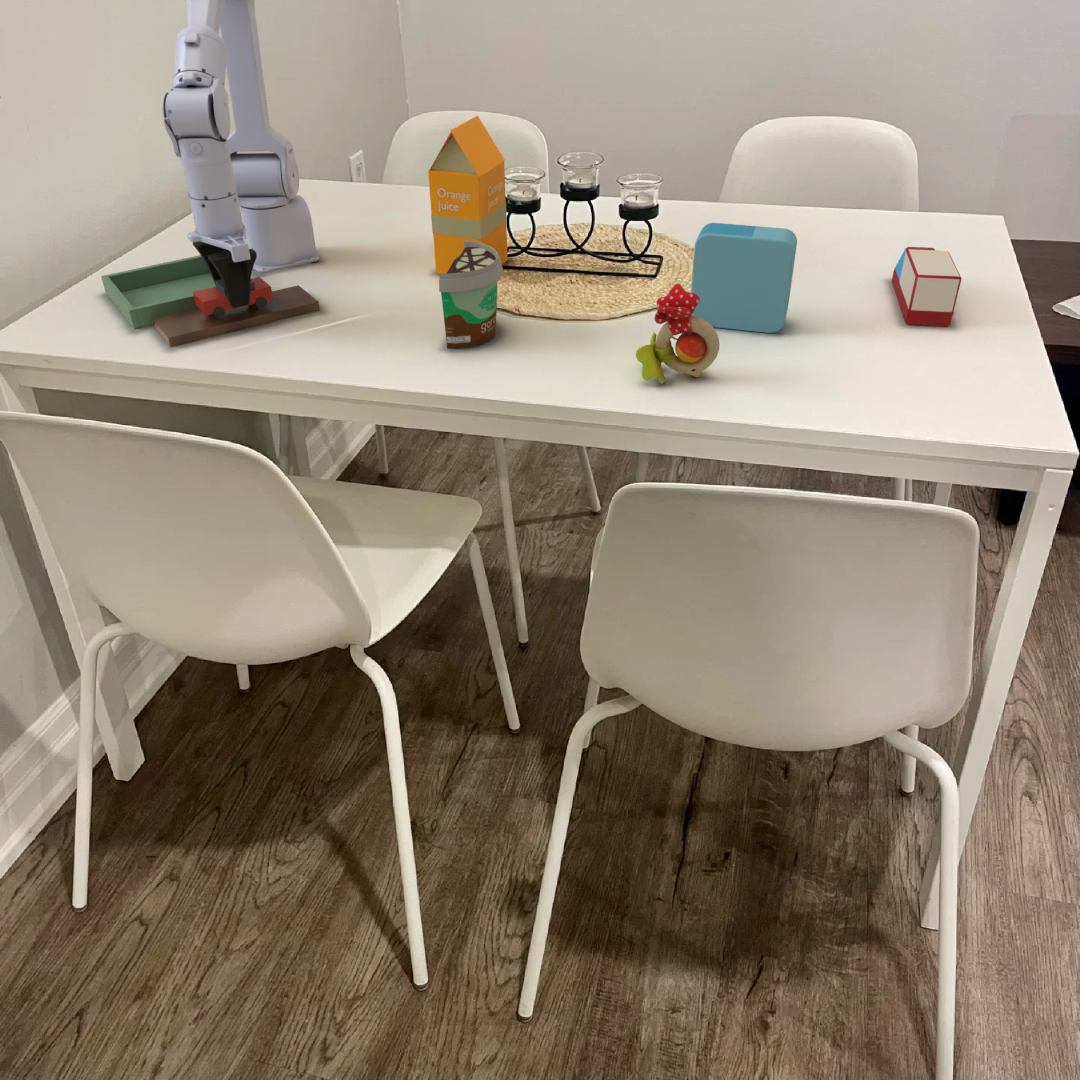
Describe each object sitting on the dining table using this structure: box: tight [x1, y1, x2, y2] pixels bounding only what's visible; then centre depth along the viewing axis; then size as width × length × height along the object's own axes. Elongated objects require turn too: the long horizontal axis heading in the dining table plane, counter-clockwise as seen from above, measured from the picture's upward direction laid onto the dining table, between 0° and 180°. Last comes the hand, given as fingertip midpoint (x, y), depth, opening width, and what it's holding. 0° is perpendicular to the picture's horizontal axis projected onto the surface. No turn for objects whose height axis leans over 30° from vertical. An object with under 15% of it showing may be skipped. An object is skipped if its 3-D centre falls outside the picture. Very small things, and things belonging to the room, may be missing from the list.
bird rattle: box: [635, 283, 721, 385], centre depth 114 cm, size 6×11×9 cm
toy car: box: [193, 276, 273, 318], centre depth 129 cm, size 9×4×3 cm, turn 123°
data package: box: [690, 222, 798, 334], centre depth 125 cm, size 12×4×12 cm, turn 73°
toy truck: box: [891, 246, 962, 328], centre depth 131 cm, size 6×15×7 cm, turn 171°
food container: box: [438, 241, 504, 350], centre depth 124 cm, size 12×6×10 cm, turn 168°
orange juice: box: [427, 115, 509, 275], centre depth 140 cm, size 8×9×20 cm
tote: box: [100, 254, 216, 330], centre depth 137 cm, size 17×15×3 cm
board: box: [153, 284, 321, 348], centre depth 131 cm, size 20×7×2 cm, turn 123°
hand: (234, 299), depth 130 cm, fingers closed on toy car, 4 cm apart
